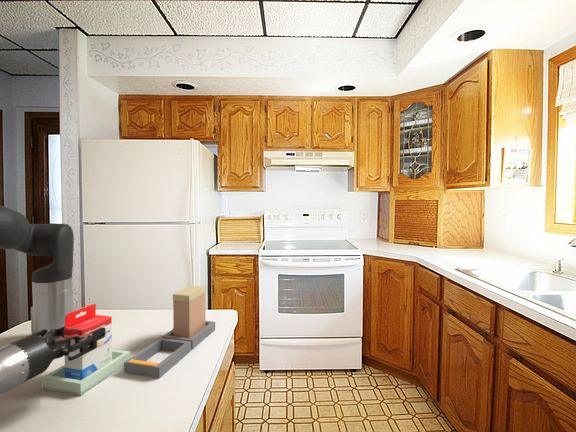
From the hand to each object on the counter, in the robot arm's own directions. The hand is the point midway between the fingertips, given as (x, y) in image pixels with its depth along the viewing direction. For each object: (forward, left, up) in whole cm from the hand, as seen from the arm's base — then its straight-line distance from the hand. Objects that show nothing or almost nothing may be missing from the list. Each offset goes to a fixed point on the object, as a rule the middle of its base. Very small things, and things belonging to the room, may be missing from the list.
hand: (88, 329), depth 71 cm
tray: (0, 0, -10) cm, 11 cm away
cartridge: (+12, +23, -11) cm, 28 cm away
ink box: (0, 0, -10) cm, 10 cm away
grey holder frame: (+12, +16, -10) cm, 23 cm away
